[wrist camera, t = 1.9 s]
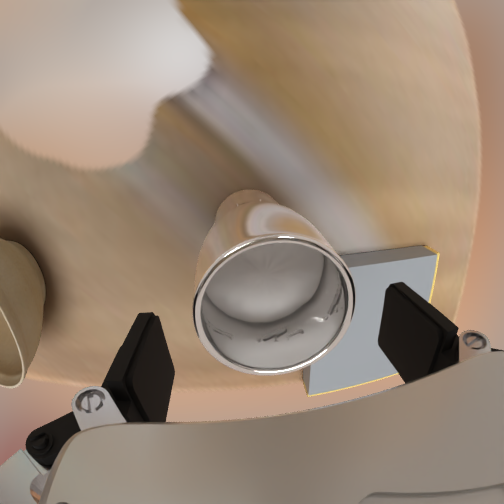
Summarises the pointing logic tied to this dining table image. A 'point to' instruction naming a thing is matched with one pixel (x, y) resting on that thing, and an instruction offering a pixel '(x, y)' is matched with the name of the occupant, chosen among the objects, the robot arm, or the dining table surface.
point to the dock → (370, 317)
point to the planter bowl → (19, 311)
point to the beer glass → (269, 288)
